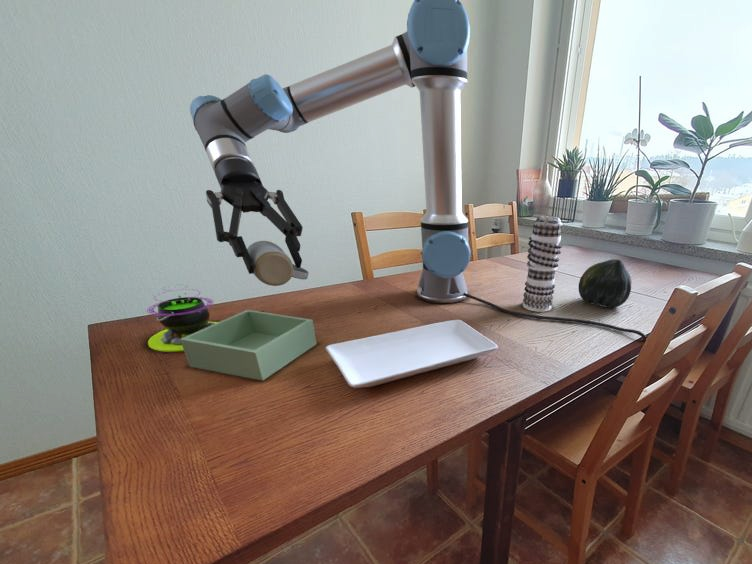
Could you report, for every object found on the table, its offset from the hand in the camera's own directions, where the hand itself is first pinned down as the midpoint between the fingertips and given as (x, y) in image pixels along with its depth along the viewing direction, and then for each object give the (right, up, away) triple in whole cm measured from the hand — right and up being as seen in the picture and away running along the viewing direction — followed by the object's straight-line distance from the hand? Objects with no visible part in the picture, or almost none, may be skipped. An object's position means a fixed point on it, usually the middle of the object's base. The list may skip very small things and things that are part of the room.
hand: (276, 266), depth 73 cm
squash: (+78, -1, +42) cm, 88 cm away
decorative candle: (+57, -3, +37) cm, 68 cm away
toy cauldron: (-23, -13, +8) cm, 28 cm away
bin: (-5, -17, +3) cm, 18 cm away
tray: (+27, -19, +4) cm, 33 cm away
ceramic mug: (-2, -2, +5) cm, 5 cm away
